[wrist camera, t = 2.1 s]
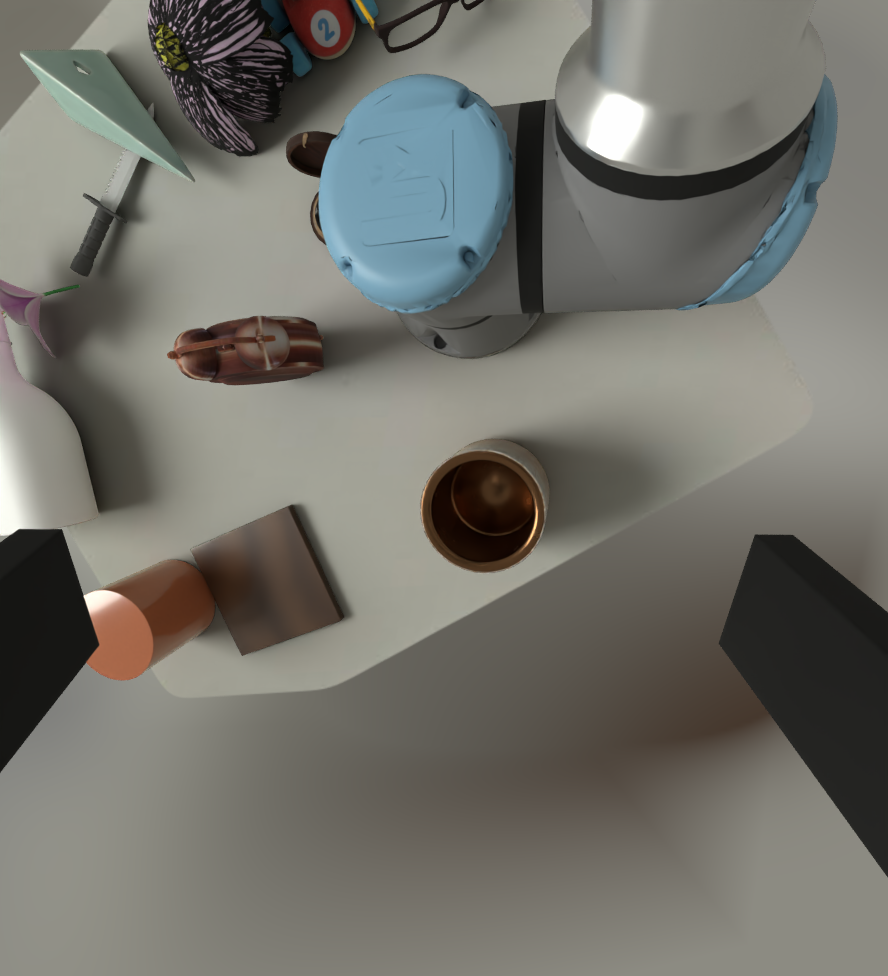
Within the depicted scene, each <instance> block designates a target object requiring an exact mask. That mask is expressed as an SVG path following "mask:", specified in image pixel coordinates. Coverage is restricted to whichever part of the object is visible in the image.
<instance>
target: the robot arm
mask: <svg viewBox="0 0 888 976" xmlns="http://www.w3.org/2000/svg"><path fill="white" fill-rule="evenodd" d="M815 2H816V0H592V18H591V26H590V27H589V28H588V29H587V30H586V31H585V32H584V33H583V34H582V35H581V36H580V37H579V38H578V39H577V40H576V42H575V43H574V44H573V45H572V46H571V48H570V50H569V51H568V53H567V54H566V56H565V57H564V59H563V62H562V64H561V67H560V70H559V74H558V77H557V83H556V90H555V99H551V100H542V101H534V102H526V103H518V104H511V105H503V106H494V107H491V106H490V105H489V104H488V103H487V102H486V101H485V100H484V99H483V98H482V97H480V96H479V95H478V94H476V93H474V92H472V91H470V90H469V89H468V88H467V87H466V86H464V85H463V84H461V83H459V82H457V81H455V80H452V79H450V78H447V77H443V76H437V75H430V74H418V75H410V76H406V77H402V78H399V79H396V80H393V81H391V82H388V83H386V84H384V85H382V86H381V87H379V88H377V89H376V90H374V91H373V92H371V93H370V94H368V95H367V96H366V97H365V98H364V99H362V100H361V101H360V102H359V103H358V104H357V105H356V106H355V107H354V108H353V110H352V111H351V112H350V113H349V114H348V116H347V117H346V119H345V123H344V125H343V127H342V129H341V131H340V132H339V134H338V135H337V137H336V138H335V139H333V140H332V142H331V144H330V146H329V149H328V151H327V154H326V157H325V161H324V164H323V168H322V173H321V178H320V185H319V216H320V223H321V228H322V232H323V236H324V239H325V242H326V245H327V248H328V250H329V252H330V254H331V256H332V258H333V260H334V262H335V263H336V265H337V266H338V268H339V269H340V271H341V272H342V273H343V275H344V276H345V277H346V278H347V279H348V280H349V281H350V282H351V283H352V284H353V285H354V286H355V287H356V288H358V289H359V290H360V291H361V293H362V294H363V295H364V296H365V297H366V298H368V299H369V300H370V301H372V302H373V303H376V304H378V305H379V306H380V307H385V308H387V309H388V310H389V311H396V312H397V314H398V316H399V317H400V319H401V321H402V322H403V324H404V325H405V326H406V328H407V329H408V330H409V332H410V333H411V334H412V335H413V336H414V337H415V338H416V339H417V340H419V341H420V342H421V343H423V344H424V345H425V346H427V347H429V348H430V349H432V350H434V351H436V352H439V353H441V354H444V355H447V356H451V357H456V358H464V359H474V358H482V357H487V356H490V355H494V354H496V353H499V352H501V351H503V350H505V349H507V348H509V347H510V346H512V345H513V344H515V343H516V342H518V341H519V340H520V339H521V338H522V337H523V336H525V335H526V334H527V333H528V332H529V330H530V329H531V328H532V327H533V326H534V324H535V323H536V321H537V320H538V318H539V317H540V315H541V313H563V312H596V311H629V310H663V309H677V310H691V309H694V308H699V307H701V306H704V305H711V304H722V303H731V302H736V301H739V300H742V299H745V298H747V297H749V296H751V295H753V294H755V293H756V292H758V291H760V290H761V289H762V288H764V287H765V286H766V285H767V284H768V283H770V282H771V281H772V279H773V278H774V277H775V276H776V275H777V274H778V273H779V272H780V271H781V270H782V269H783V267H784V266H785V265H786V264H787V262H788V260H790V258H791V257H792V255H793V254H794V252H795V250H796V249H797V247H798V246H799V244H800V242H801V240H802V238H803V237H804V235H805V233H806V231H807V229H808V227H809V225H810V223H811V221H812V218H813V216H814V214H815V211H816V209H817V206H818V203H817V200H816V191H817V190H818V188H819V187H820V185H821V183H823V182H824V181H825V180H826V179H827V177H828V173H829V169H830V165H831V161H832V157H833V153H834V148H835V141H836V133H837V117H838V116H837V103H836V97H835V93H834V89H833V86H832V83H831V81H830V80H829V78H828V77H827V76H826V75H825V69H826V68H825V52H824V49H823V44H822V42H821V40H820V37H819V35H818V33H817V31H816V29H815V28H814V27H813V25H812V24H811V22H810V21H809V20H808V19H809V17H810V14H811V12H812V9H813V7H814V4H815ZM719 644H720V646H721V647H722V649H723V650H724V651H725V653H726V654H727V655H728V657H729V658H730V660H731V661H732V662H733V664H734V665H735V667H736V668H737V669H738V671H739V672H740V673H741V675H742V676H743V678H744V679H745V680H746V682H747V683H748V685H749V686H750V687H751V689H752V690H753V691H754V693H755V694H756V696H757V697H758V698H759V700H760V701H761V703H762V704H763V705H764V707H765V708H766V709H767V711H768V712H769V714H770V715H771V716H772V718H773V719H774V721H775V722H776V723H777V725H778V726H779V728H780V729H781V730H782V732H783V733H784V734H785V736H786V737H787V738H788V740H789V741H790V743H791V744H792V745H793V747H794V748H795V750H796V751H797V752H798V754H799V755H800V756H801V758H802V759H803V761H804V762H805V764H806V765H807V766H808V767H809V769H810V770H811V772H812V773H813V775H814V776H815V777H816V779H817V780H818V782H819V783H820V784H821V786H822V787H823V788H824V790H825V791H826V793H827V794H828V795H829V797H830V798H831V799H832V801H833V802H834V804H835V805H836V806H837V808H838V809H839V811H840V812H841V813H842V815H843V816H844V817H845V819H846V820H847V822H848V823H849V824H850V826H851V827H852V829H853V830H854V831H855V833H856V834H857V835H858V837H859V838H860V840H861V841H862V842H863V844H864V845H865V847H866V848H867V849H868V851H869V852H870V853H871V855H872V856H873V858H874V859H875V860H876V862H877V863H878V865H879V866H880V867H881V869H882V870H883V871H884V873H885V874H886V876H887V877H888V612H887V611H885V610H884V609H883V608H882V607H881V606H879V605H878V604H877V603H876V602H874V601H873V600H872V599H871V598H869V597H868V596H867V595H866V594H865V593H863V592H862V591H861V590H860V589H858V588H857V587H856V586H855V585H853V584H852V583H851V582H850V581H848V580H847V579H846V578H845V577H844V576H843V575H841V574H840V573H839V572H838V571H836V570H835V569H834V568H833V567H831V566H830V565H829V564H828V563H827V562H825V561H824V560H823V559H822V558H820V557H819V556H818V555H817V554H815V553H814V552H813V551H812V550H811V549H809V548H808V547H807V546H806V545H805V544H803V543H802V542H801V541H800V540H798V539H797V538H796V537H794V536H793V535H755V536H754V539H753V542H752V545H751V548H750V551H749V554H748V557H747V560H746V563H745V566H744V569H743V572H742V575H741V579H740V581H739V584H738V587H737V590H736V593H735V596H734V599H733V602H732V605H731V608H730V611H729V614H728V617H727V620H726V623H725V626H724V629H723V632H722V635H721V638H720V641H719ZM99 645H100V644H99V641H98V638H97V635H96V632H95V629H94V626H93V623H92V620H91V617H90V614H89V611H88V608H87V605H86V602H85V598H84V595H83V592H82V589H81V586H80V583H79V580H78V577H77V574H76V571H75V568H74V565H73V562H72V559H71V556H70V553H69V549H68V546H67V543H66V540H65V537H64V534H63V531H62V529H18V530H17V531H15V532H14V533H12V534H11V535H10V536H9V537H7V538H6V539H4V540H3V541H2V542H0V772H1V771H2V770H3V768H4V767H5V766H6V765H7V763H8V762H9V761H10V759H11V758H12V757H13V756H14V754H15V753H16V752H17V750H18V749H19V748H20V747H21V745H22V744H23V743H24V741H25V740H26V739H27V738H28V736H29V735H30V734H31V732H32V731H33V730H34V729H35V727H36V726H37V725H38V723H39V722H40V721H41V720H42V718H43V717H44V716H45V715H46V713H47V712H48V711H49V709H50V708H51V707H52V705H53V704H54V703H55V702H56V700H57V699H58V698H59V696H60V695H61V694H62V693H63V691H64V690H65V689H66V688H67V686H68V685H69V684H70V682H71V681H72V680H73V679H74V677H75V676H76V675H77V673H78V672H79V671H80V670H81V668H82V667H83V665H84V664H85V663H86V662H87V661H88V659H89V658H90V657H91V655H92V654H93V653H94V652H95V650H96V649H97V648H98V646H99Z"/></svg>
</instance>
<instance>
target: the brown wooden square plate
mask: <svg viewBox="0 0 888 976" xmlns="http://www.w3.org/2000/svg"><path fill="white" fill-rule="evenodd" d="M190 550H191V552H192V554H193V556H194V558H195V560H196V562H197V564H198V566H199V568H200V570H201V573H202V575H203V577H204V579H205V581H206V583H207V585H208V587H209V589H210V591H211V593H212V595H213V597H214V599H215V601H216V604H217V606H218V608H219V610H220V612H221V614H222V616H223V618H224V620H225V622H226V624H227V626H228V628H229V630H230V632H231V635H232V637H233V639H234V641H235V643H236V645H237V647H238V649H239V651H240V653H241V655H242V656H243V655H246V654H248V653H251V652H254V651H257V650H260V649H263V648H265V647H268V646H271V645H274V644H277V643H279V642H282V641H285V640H288V639H291V638H294V637H296V636H299V635H302V634H305V633H308V632H311V631H313V630H316V629H319V628H322V627H325V626H327V625H330V624H333V623H336V622H339V621H341V620H342V619H343V618H344V615H343V613H342V611H341V609H340V607H339V605H338V603H337V600H336V598H335V596H334V594H333V592H332V590H331V587H330V585H329V583H328V581H327V579H326V577H325V574H324V572H323V570H322V568H321V566H320V564H319V561H318V559H317V557H316V555H315V553H314V551H313V549H312V546H311V544H310V542H309V540H308V538H307V536H306V533H305V531H304V529H303V527H302V525H301V523H300V520H299V518H298V516H297V514H296V512H295V510H294V507H293V505H290V506H287V507H285V508H283V509H280V510H278V511H276V512H274V513H271V514H269V515H267V516H264V517H262V518H260V519H258V520H255V521H253V522H251V523H248V524H246V525H244V526H242V527H239V528H237V529H235V530H232V531H230V532H228V533H225V534H223V535H221V536H219V537H216V538H214V539H212V540H209V541H207V542H205V543H203V544H200V545H198V546H196V547H193V548H191V549H190Z"/></svg>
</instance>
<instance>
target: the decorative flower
mask: <svg viewBox="0 0 888 976" xmlns="http://www.w3.org/2000/svg"><path fill="white" fill-rule="evenodd" d="M148 11H149V18H148V29H149V36H150V37H149V38H150V41H151V46H152V49H153V52H154V55H155V57H156V59H157V61H158V63H159V65H160V67H161V69H162V70H163V72H164V74H165V75H166V76H167V77H168V79H169V80H170V83H171V87H172V90H173V93H174V95H175V98H176V100H177V102H178V104H179V106H180V108H181V110H182V112H183V113H184V115H185V116H186V118H187V119H188V121H189V122H190V123H191V124H192V126H193V127H194V128H195V129H196V130H197V131H198V132H199V133H200V134H201V135H202V137H203V138H205V139H206V140H207V141H208V142H209V143H211V144H212V145H213V146H215V147H217V148H219V149H221V150H225V151H227V152H229V153H234V154H236V155H237V156H252V155H255V154H257V153H258V147H257V145H256V143H255V142H254V141H253V139H252V138H251V136H250V135H249V133H248V132H247V131H246V130H245V129H243V127H242V126H241V125H240V124H239V123H238V121H237V120H236V118H235V117H234V116H233V115H235V116H237V117H240V118H243V119H247V120H251V121H256V122H262V123H275V122H274V121H275V120H274V119H275V118H276V117H278V116H281V114H278V113H279V111H280V110H281V109H282V108H280V107H279V106H280V101H281V98H280V91H283V90H284V87H285V85H286V84H287V83H288V82H292V78H293V55H292V54H291V51H290V50H289V49H288V47H287V46H286V45H284V44H283V43H281V42H280V41H278V40H275V39H273V38H269V37H270V36H271V30H270V28H269V26H270V25H271V23H272V21H273V20H274V17H272V16H271V15H269V14H268V13H269V12H267V11H266V10H264V8H263V6H262V4H261V0H150V6H149V10H148Z"/></svg>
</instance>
